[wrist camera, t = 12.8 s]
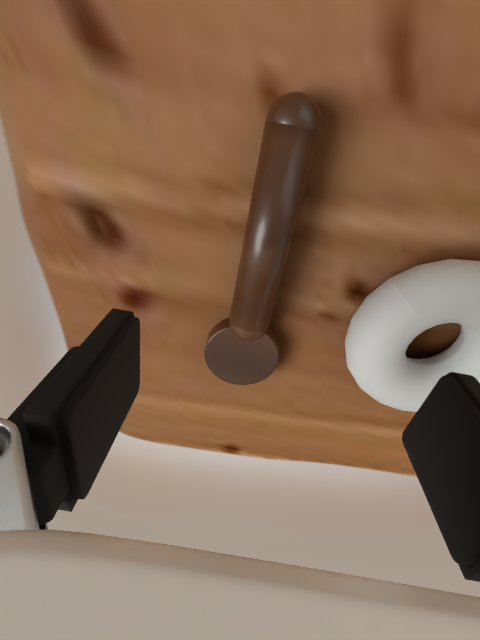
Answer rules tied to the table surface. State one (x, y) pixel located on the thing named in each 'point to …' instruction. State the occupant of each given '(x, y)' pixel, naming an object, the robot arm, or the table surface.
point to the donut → (415, 331)
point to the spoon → (266, 242)
